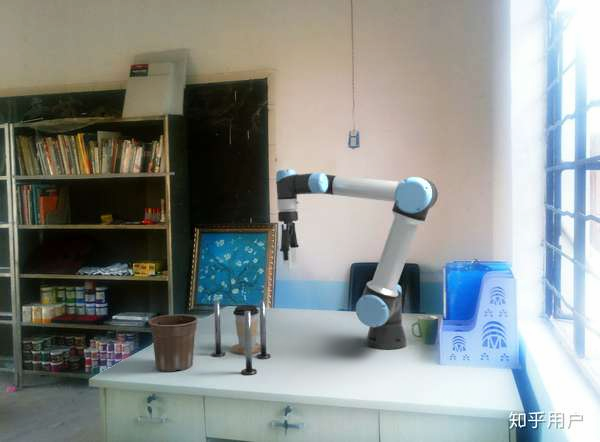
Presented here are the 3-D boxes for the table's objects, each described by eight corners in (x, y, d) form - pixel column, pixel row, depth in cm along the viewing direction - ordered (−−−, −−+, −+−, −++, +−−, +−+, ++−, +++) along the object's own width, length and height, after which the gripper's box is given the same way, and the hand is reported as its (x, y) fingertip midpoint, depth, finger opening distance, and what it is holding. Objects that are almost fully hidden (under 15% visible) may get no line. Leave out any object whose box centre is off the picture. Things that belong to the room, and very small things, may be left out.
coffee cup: (262, 344, 201) (261, 304, 200) (256, 351, 192) (254, 310, 191) (239, 343, 203) (237, 304, 202) (231, 350, 193) (229, 310, 193)
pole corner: (272, 355, 190) (270, 299, 189) (268, 359, 185) (267, 302, 184) (258, 354, 191) (257, 299, 190) (254, 358, 186) (253, 302, 185)
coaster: (267, 346, 202) (267, 343, 202) (258, 355, 190) (258, 352, 190) (237, 344, 205) (237, 342, 204) (226, 353, 193) (226, 351, 193)
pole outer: (258, 370, 174) (257, 310, 173) (254, 375, 169) (252, 313, 168) (244, 369, 175) (242, 309, 174) (239, 374, 170) (237, 313, 169)
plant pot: (206, 360, 186) (205, 314, 185) (187, 375, 170) (186, 325, 170) (163, 358, 189) (162, 313, 189) (141, 373, 174) (139, 324, 173)
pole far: (227, 353, 194) (225, 298, 193) (222, 357, 189) (220, 301, 188) (214, 352, 195) (212, 298, 194) (209, 356, 190) (207, 301, 189)
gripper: (291, 211, 188) (294, 270, 189) (303, 209, 213) (305, 262, 213) (270, 212, 189) (273, 271, 190) (284, 210, 214) (287, 263, 215)
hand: (290, 266), depth 202 cm, fingers open, 13 cm apart
